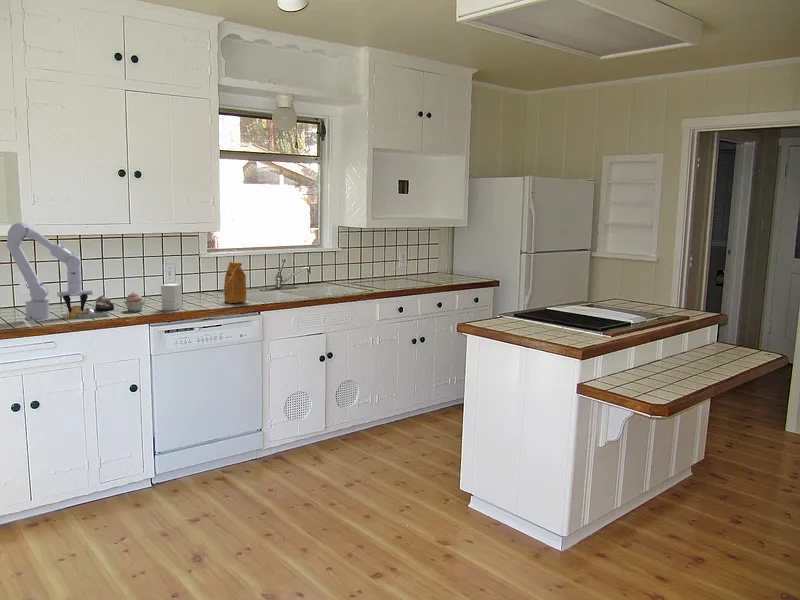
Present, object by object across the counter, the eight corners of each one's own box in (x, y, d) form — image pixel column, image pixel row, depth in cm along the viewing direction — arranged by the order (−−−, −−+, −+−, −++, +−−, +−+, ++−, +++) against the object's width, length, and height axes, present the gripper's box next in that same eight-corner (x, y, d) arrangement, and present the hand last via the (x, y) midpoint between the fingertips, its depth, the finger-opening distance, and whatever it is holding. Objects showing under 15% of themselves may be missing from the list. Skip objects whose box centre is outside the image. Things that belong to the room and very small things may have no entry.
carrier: (67, 322, 302) (67, 314, 302) (60, 316, 315) (60, 309, 315) (110, 318, 312) (110, 310, 312) (102, 313, 326) (101, 306, 325)
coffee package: (238, 300, 375) (238, 260, 372) (248, 303, 366) (247, 262, 362) (221, 301, 369) (220, 261, 366) (231, 304, 359) (230, 263, 356)
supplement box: (182, 308, 344) (181, 283, 342) (174, 311, 337) (174, 285, 335) (169, 308, 345) (168, 283, 343) (161, 310, 338) (160, 285, 336)
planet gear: (68, 318, 306) (68, 308, 305) (65, 315, 312) (65, 306, 311) (86, 316, 310) (86, 307, 310) (83, 314, 316) (82, 305, 316)
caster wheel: (107, 318, 327) (89, 314, 328) (121, 310, 337) (104, 306, 339) (106, 306, 324) (88, 301, 326) (121, 298, 334) (103, 294, 336)
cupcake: (132, 309, 340) (131, 289, 338) (148, 310, 338) (147, 290, 336) (120, 312, 331) (119, 291, 329) (137, 313, 329) (136, 292, 327)
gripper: (58, 283, 301) (60, 314, 303) (93, 282, 310) (94, 311, 312) (55, 282, 307) (57, 311, 309) (90, 280, 315) (91, 309, 317)
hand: (76, 311), depth 311 cm, fingers closed on planet gear, 5 cm apart
